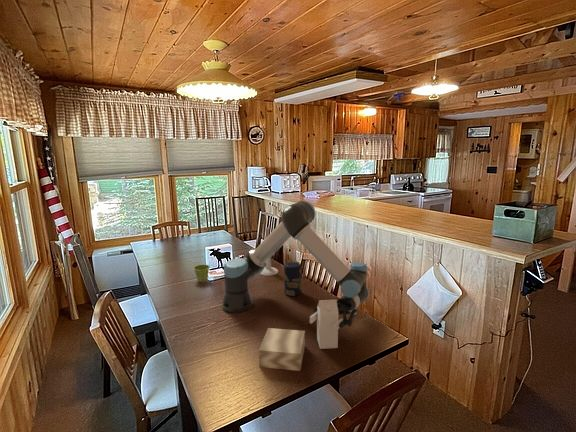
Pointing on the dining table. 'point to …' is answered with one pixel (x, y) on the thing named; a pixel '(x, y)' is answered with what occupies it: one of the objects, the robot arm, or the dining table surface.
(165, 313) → the dining table surface
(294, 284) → the canister
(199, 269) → the plant pot
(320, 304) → the milk carton
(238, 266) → the robot arm
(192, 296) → the dining table surface
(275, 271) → the candlestick
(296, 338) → the block
